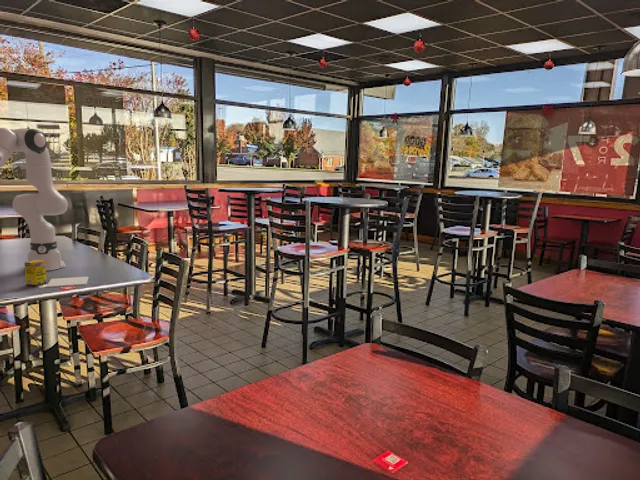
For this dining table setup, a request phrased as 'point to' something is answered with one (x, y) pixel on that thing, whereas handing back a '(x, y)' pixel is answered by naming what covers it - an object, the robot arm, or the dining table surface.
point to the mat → (67, 282)
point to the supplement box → (35, 273)
